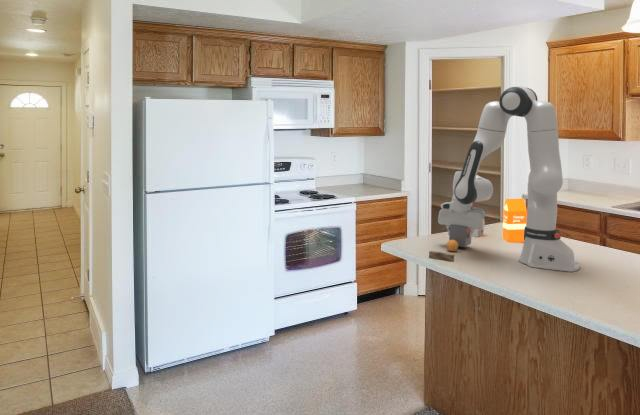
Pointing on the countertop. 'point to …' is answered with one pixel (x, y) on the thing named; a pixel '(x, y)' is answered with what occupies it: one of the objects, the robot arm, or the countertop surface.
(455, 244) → the ball
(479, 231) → the container
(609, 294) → the countertop surface
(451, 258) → the bar
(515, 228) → the orange juice
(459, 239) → the matte gray box
